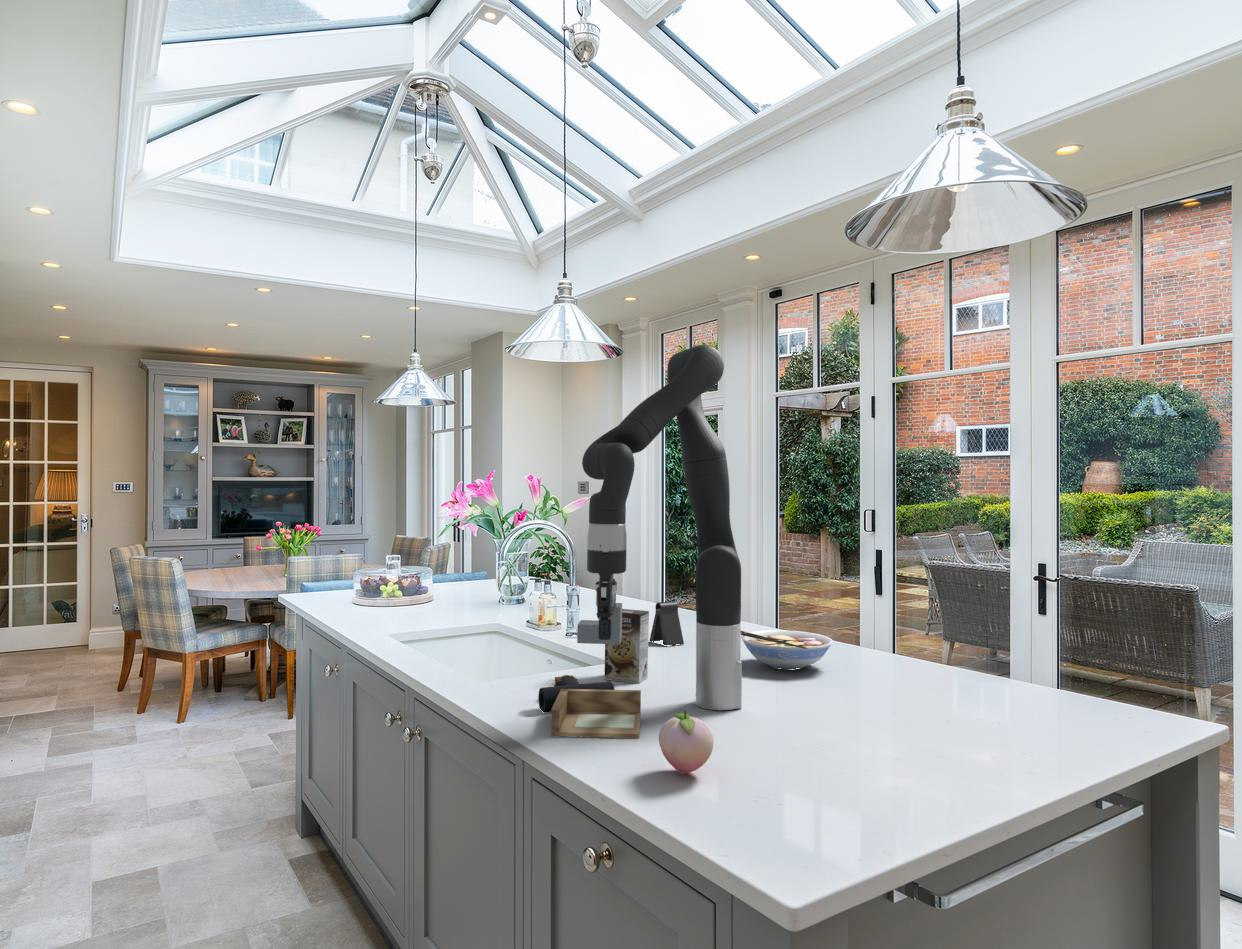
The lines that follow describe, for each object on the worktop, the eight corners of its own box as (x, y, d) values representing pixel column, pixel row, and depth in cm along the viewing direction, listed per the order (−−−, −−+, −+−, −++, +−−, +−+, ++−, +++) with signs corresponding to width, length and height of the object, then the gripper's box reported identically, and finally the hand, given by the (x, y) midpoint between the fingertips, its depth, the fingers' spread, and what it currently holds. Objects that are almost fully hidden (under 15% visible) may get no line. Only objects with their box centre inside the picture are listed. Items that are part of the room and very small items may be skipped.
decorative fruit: (722, 781, 122) (722, 716, 122) (672, 787, 119) (673, 720, 119) (699, 761, 131) (699, 701, 131) (652, 766, 128) (653, 704, 128)
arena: (640, 714, 157) (640, 690, 157) (638, 738, 142) (639, 711, 142) (561, 712, 158) (561, 688, 158) (550, 736, 143) (551, 710, 143)
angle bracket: (580, 638, 153) (581, 601, 153) (621, 639, 152) (622, 603, 152) (577, 643, 148) (577, 605, 148) (619, 644, 147) (620, 607, 147)
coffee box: (603, 679, 185) (603, 611, 185) (613, 673, 191) (614, 607, 191) (639, 683, 182) (640, 613, 182) (649, 677, 188) (649, 609, 188)
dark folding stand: (684, 645, 227) (684, 603, 227) (666, 647, 223) (667, 604, 224) (666, 639, 234) (666, 599, 234) (649, 641, 231) (649, 600, 231)
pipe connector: (530, 676, 167) (596, 670, 173) (529, 701, 167) (596, 694, 173) (545, 690, 157) (615, 683, 162) (545, 717, 157) (615, 709, 162)
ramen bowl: (855, 671, 196) (855, 638, 196) (791, 683, 183) (791, 648, 183) (782, 653, 216) (782, 623, 216) (719, 663, 203) (719, 631, 203)
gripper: (590, 544, 158) (589, 629, 157) (583, 550, 143) (582, 643, 143) (628, 544, 157) (627, 630, 157) (624, 550, 143) (623, 644, 143)
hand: (605, 636), depth 150 cm, fingers closed on angle bracket, 5 cm apart
